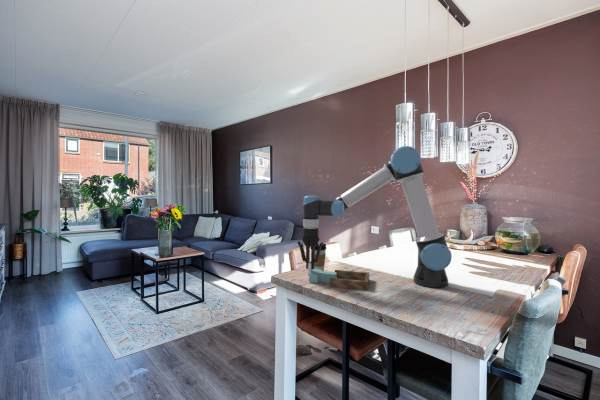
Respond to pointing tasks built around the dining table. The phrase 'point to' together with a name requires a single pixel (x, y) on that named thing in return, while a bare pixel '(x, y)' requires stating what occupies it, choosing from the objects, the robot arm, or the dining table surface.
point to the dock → (350, 283)
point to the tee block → (321, 276)
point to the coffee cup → (320, 257)
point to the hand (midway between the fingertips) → (310, 275)
